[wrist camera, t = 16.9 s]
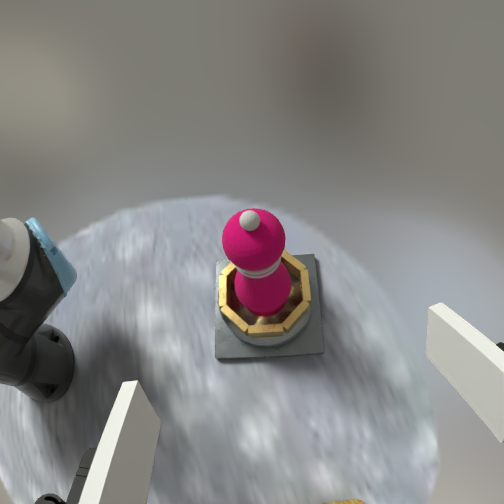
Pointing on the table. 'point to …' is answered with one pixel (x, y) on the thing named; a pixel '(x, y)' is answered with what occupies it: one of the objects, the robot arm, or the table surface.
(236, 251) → the pepper mill
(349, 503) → the croissant
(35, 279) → the robot arm
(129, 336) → the table surface
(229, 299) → the silver and gold bowl
